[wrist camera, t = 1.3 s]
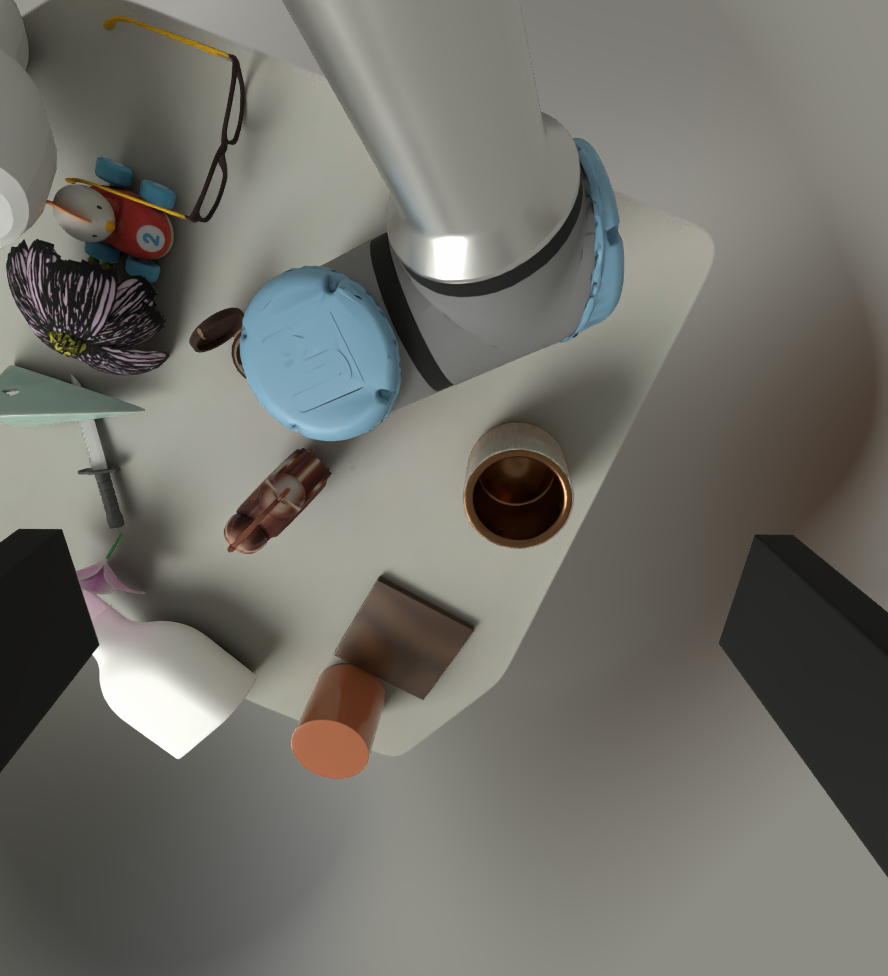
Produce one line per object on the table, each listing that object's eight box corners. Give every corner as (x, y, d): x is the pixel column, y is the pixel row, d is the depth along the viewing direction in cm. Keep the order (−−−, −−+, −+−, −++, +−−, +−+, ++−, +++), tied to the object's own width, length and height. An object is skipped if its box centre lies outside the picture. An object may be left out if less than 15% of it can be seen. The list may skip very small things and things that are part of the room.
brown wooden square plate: (379, 576, 68) (377, 580, 67) (474, 626, 69) (473, 630, 68) (335, 649, 73) (333, 654, 72) (424, 695, 74) (423, 700, 73)
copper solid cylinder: (334, 652, 73) (309, 707, 64) (397, 684, 74) (382, 743, 65) (306, 698, 77) (279, 756, 68) (367, 728, 78) (348, 790, 69)
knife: (97, 371, 62) (59, 374, 62) (82, 373, 60) (42, 376, 60) (139, 522, 68) (103, 523, 68) (127, 529, 66) (90, 530, 66)
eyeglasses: (217, 238, 51) (199, 223, 47) (68, 183, 50) (37, 163, 46) (260, 86, 49) (245, 57, 45) (106, 26, 48) (78, -9, 44)
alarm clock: (316, 431, 61) (261, 478, 47) (347, 460, 62) (302, 515, 48) (261, 490, 65) (195, 550, 51) (291, 517, 66) (234, 582, 52)
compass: (264, 394, 60) (233, 410, 53) (213, 338, 58) (175, 346, 51) (313, 350, 57) (287, 360, 51) (261, 289, 56) (228, 291, 49)
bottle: (118, 548, 70) (70, 583, 62) (265, 664, 75) (237, 710, 67) (59, 617, 75) (9, 657, 67) (199, 721, 80) (167, 769, 73)
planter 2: (178, 420, 66) (40, 401, 67) (159, 383, 61) (8, 363, 61) (151, 471, 62) (3, 451, 62) (127, 437, 57) (-35, 414, 57)
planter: (583, 448, 58) (597, 480, 50) (533, 525, 63) (538, 567, 54) (496, 403, 57) (495, 427, 49) (452, 484, 62) (443, 520, 53)
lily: (66, 533, 71) (21, 598, 65) (83, 500, 63) (34, 570, 58) (155, 570, 77) (121, 633, 71) (180, 544, 69) (144, 612, 63)
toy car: (169, 286, 56) (102, 291, 47) (92, 247, 56) (9, 245, 47) (188, 197, 53) (120, 185, 44) (106, 155, 52) (19, 133, 43)
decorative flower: (-20, 375, 52) (-44, 228, 42) (42, 318, 60) (33, 185, 51) (141, 423, 56) (152, 300, 47) (178, 364, 65) (193, 250, 55)
